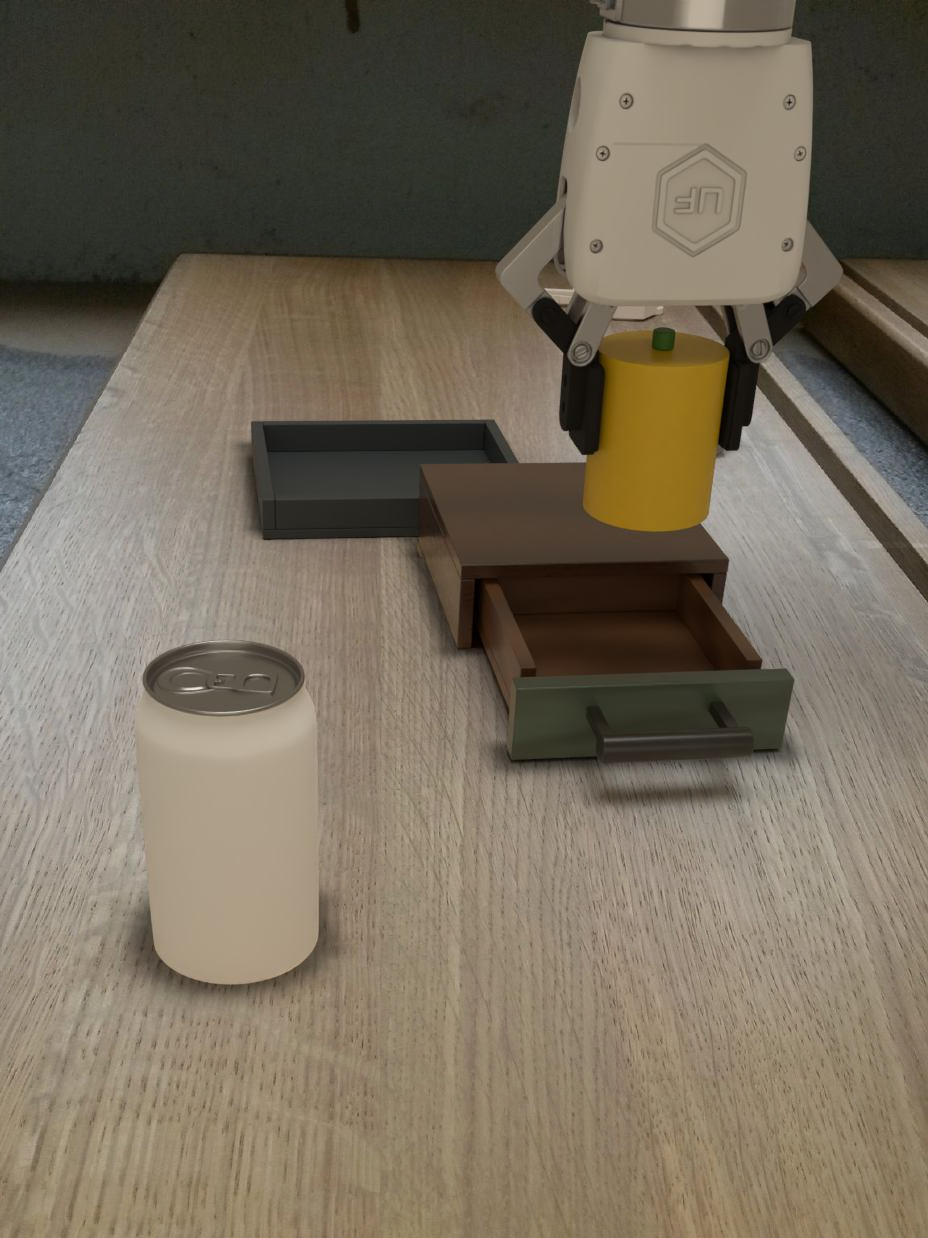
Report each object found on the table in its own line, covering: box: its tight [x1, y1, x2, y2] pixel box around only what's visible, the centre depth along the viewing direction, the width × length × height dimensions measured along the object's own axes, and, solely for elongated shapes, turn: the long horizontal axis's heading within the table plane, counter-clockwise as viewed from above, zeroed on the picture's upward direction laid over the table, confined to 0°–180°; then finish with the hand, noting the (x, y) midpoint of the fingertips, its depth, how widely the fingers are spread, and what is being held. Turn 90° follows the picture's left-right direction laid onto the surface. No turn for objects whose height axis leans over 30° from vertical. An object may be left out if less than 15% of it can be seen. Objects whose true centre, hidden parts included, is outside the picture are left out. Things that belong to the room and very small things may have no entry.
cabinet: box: [416, 461, 730, 651], centre depth 85 cm, size 16×15×6 cm
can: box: [133, 639, 320, 985], centre depth 54 cm, size 6×6×12 cm
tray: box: [250, 418, 520, 540], centre depth 100 cm, size 18×16×3 cm
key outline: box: [543, 287, 665, 320], centre depth 144 cm, size 13×5×2 cm, turn 89°
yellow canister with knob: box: [583, 326, 730, 532], centre depth 68 cm, size 6×6×8 cm
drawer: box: [475, 573, 795, 765], centre depth 73 cm, size 19×13×4 cm
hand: (652, 439), depth 68 cm, fingers closed on yellow canister with knob, 6 cm apart
